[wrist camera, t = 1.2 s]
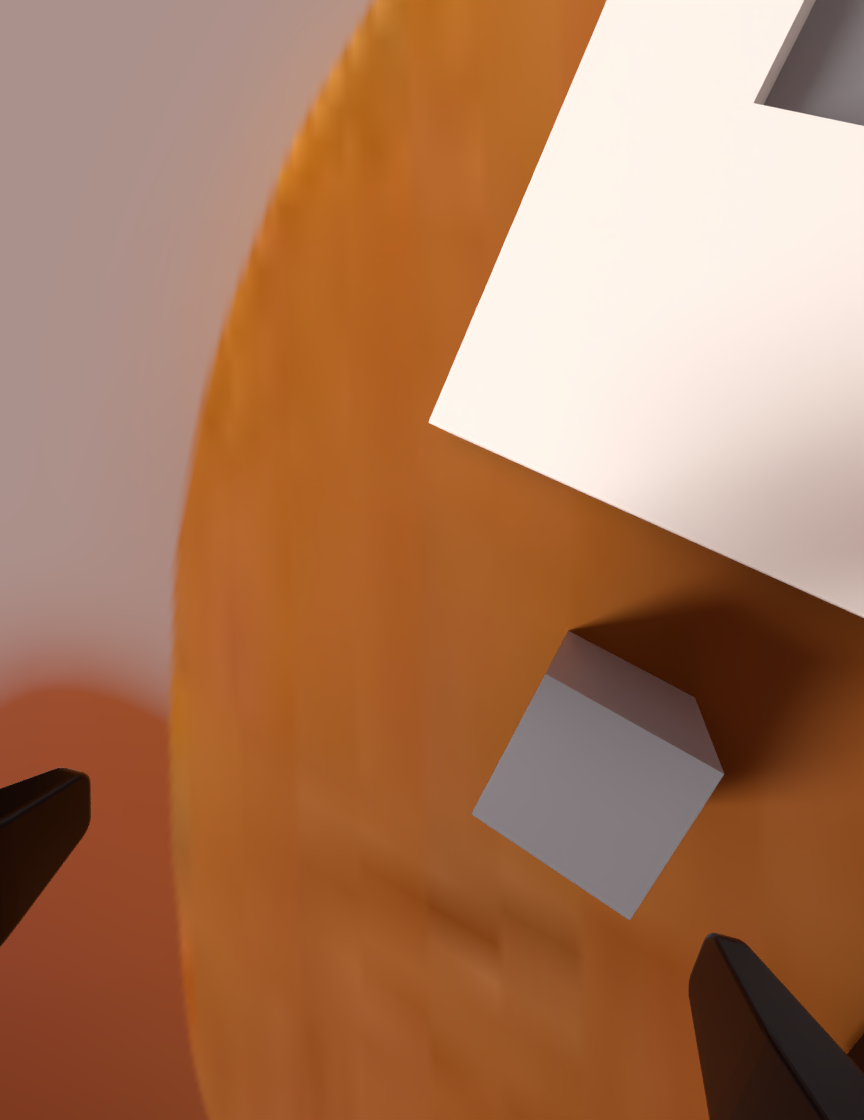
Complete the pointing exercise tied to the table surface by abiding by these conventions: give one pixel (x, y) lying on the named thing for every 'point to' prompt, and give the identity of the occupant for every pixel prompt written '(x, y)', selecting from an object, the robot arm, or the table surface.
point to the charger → (603, 774)
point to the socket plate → (694, 288)
